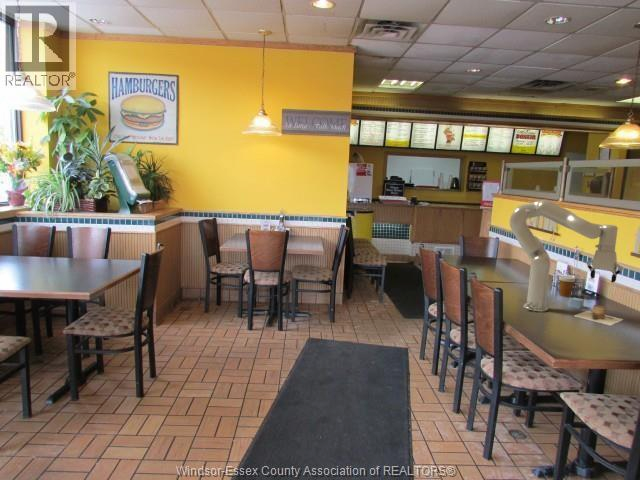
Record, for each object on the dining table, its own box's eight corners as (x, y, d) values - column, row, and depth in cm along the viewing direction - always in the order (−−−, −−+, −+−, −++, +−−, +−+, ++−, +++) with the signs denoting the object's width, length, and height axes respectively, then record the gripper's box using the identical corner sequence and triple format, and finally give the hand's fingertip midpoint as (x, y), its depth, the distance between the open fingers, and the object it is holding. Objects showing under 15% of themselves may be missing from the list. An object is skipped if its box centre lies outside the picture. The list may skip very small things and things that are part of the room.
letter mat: (610, 326, 228) (610, 325, 228) (573, 316, 242) (573, 315, 242) (623, 320, 239) (623, 319, 239) (587, 311, 253) (587, 310, 253)
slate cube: (579, 309, 257) (580, 300, 256) (569, 307, 261) (571, 298, 260) (582, 307, 260) (583, 299, 259) (573, 305, 264) (574, 297, 263)
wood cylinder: (601, 319, 237) (603, 308, 236) (590, 317, 241) (591, 306, 240) (606, 318, 240) (607, 307, 239) (594, 315, 245) (596, 304, 244)
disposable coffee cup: (567, 298, 280) (569, 279, 278) (553, 294, 289) (555, 276, 287) (576, 296, 285) (579, 278, 283) (562, 292, 293) (565, 274, 291)
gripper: (585, 246, 241) (582, 277, 243) (622, 251, 228) (618, 284, 230) (591, 245, 245) (587, 276, 248) (628, 250, 232) (623, 282, 235)
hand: (602, 280), depth 239 cm, fingers open, 9 cm apart
